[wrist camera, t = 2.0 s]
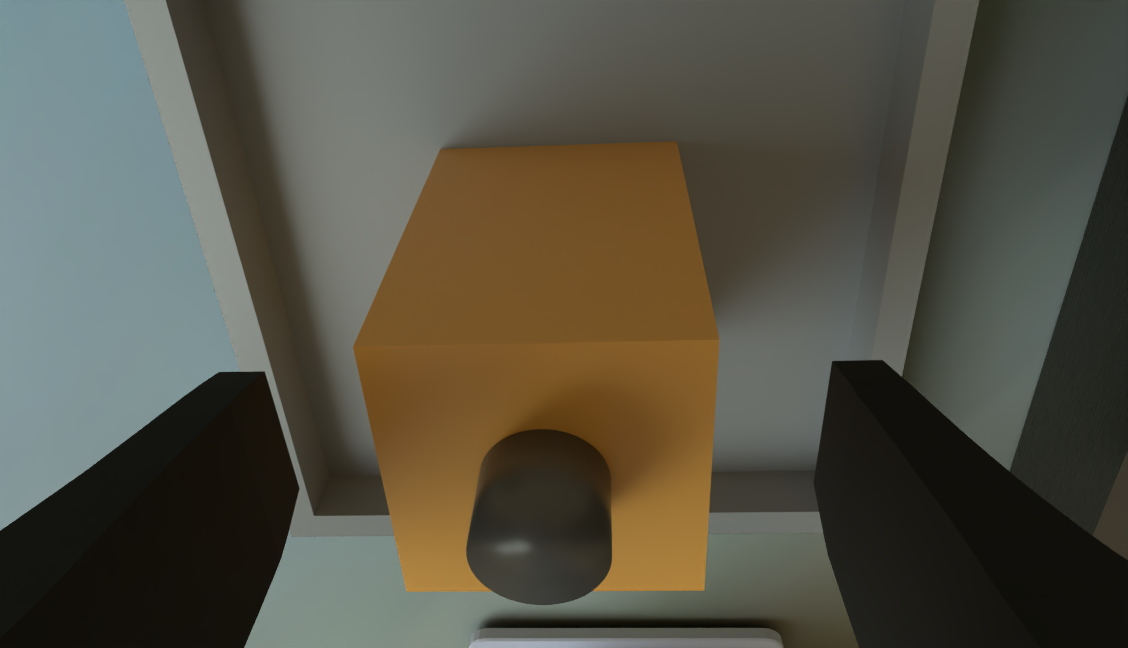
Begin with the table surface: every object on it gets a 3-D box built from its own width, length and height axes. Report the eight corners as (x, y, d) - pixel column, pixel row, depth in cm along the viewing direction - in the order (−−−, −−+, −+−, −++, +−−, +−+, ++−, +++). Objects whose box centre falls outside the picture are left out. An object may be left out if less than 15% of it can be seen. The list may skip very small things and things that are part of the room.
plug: (671, 340, 16) (714, 671, 10) (465, 344, 16) (387, 669, 10) (676, 141, 14) (733, 408, 8) (439, 149, 14) (322, 415, 8)
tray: (847, 472, 19) (869, 532, 17) (316, 477, 19) (292, 536, 18) (956, -148, 12) (1008, -138, 11) (154, -107, 13) (95, -92, 11)
